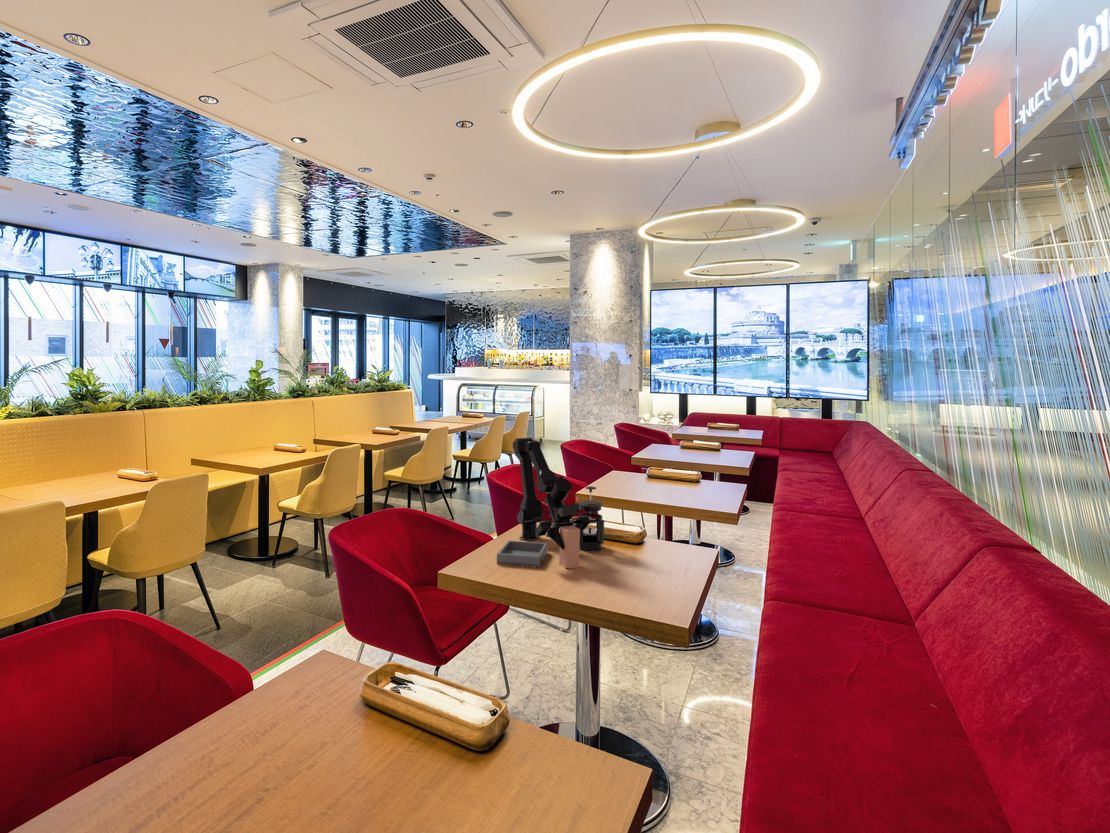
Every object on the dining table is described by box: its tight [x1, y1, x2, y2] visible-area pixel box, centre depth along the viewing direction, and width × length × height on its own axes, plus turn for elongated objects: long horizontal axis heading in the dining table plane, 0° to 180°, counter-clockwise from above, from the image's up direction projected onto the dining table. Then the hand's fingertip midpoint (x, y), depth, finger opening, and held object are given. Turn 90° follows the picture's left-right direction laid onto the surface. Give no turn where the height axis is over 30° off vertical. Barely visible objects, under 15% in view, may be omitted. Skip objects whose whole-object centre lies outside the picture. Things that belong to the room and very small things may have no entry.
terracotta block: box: [558, 525, 580, 569], centre depth 191 cm, size 5×5×13 cm
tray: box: [496, 540, 548, 568], centre depth 198 cm, size 15×15×4 cm
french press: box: [577, 485, 605, 553], centre depth 208 cm, size 12×9×23 cm
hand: (571, 547), depth 189 cm, fingers closed on terracotta block, 5 cm apart
